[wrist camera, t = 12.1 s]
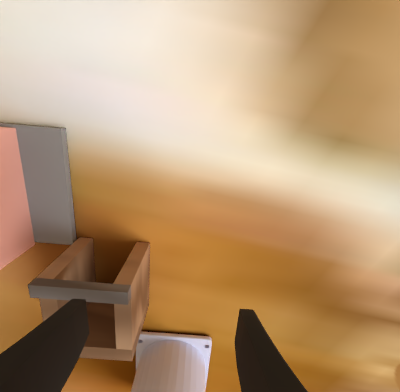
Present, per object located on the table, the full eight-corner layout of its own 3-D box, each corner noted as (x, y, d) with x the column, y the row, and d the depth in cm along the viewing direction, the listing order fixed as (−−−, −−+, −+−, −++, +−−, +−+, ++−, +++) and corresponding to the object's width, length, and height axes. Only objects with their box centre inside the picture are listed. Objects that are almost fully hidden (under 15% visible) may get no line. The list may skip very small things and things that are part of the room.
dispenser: (148, 305, 22) (129, 370, 16) (85, 300, 22) (43, 364, 16) (149, 242, 20) (127, 292, 14) (79, 237, 20) (27, 284, 14)
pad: (76, 241, 20) (73, 245, 20) (-34, 233, 20) (-41, 236, 20) (65, 128, 17) (60, 128, 17) (-65, 116, 17) (-74, 116, 16)
